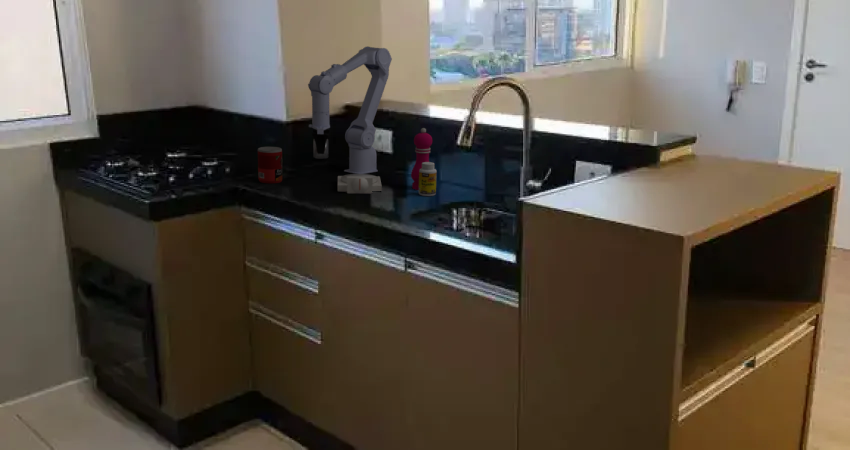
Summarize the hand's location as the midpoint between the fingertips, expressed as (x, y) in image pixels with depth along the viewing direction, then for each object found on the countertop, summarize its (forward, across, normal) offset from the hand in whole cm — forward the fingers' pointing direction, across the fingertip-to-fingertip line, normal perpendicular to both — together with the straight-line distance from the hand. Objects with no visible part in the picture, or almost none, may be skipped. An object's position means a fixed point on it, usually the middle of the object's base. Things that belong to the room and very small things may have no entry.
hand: (321, 152), depth 276 cm
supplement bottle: (+9, +23, +34) cm, 42 cm away
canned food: (+9, +6, -17) cm, 20 cm away
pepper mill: (+9, +14, +33) cm, 37 cm away
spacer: (+2, 0, 0) cm, 2 cm away
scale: (+9, +14, +13) cm, 21 cm away
